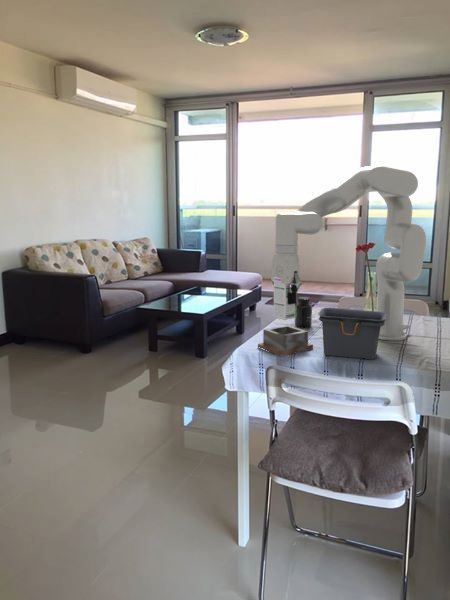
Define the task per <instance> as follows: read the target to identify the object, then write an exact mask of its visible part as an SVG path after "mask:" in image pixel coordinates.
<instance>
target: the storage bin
mask: <svg viewBox="0 0 450 600" xmlns="http://www.w3.org/2000/svg"><path fill="white" fill-rule="evenodd" d="M317 315H318V316H319V317H318V321H320V322H321V323H322V324H321V326H322V343H323V344H322V345H323V354H324V355H325V356H334V357H341V358H343V357H345V358H352V359H353V358H354V359H361V358H366V359H365V360H370V359H373V360H375V359H376V357H377V356H376V355H377V351H378V345H379V340H380V339H379V334H380V328H381V326H383V325H384V323H385V319H386V313H384V312H377V310H363V309H353V308H352V309H350V308H337V307H323V308H321V310H319V312H318V314H317Z"/></svg>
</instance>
